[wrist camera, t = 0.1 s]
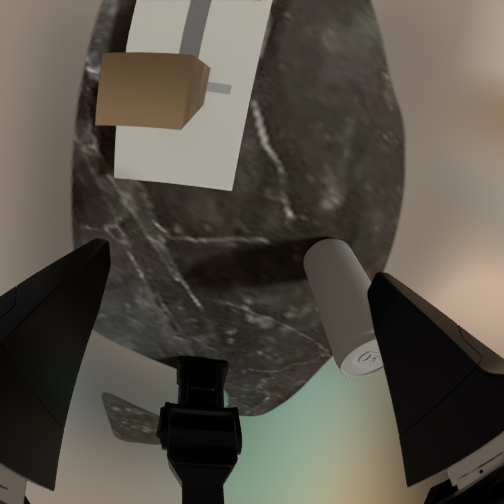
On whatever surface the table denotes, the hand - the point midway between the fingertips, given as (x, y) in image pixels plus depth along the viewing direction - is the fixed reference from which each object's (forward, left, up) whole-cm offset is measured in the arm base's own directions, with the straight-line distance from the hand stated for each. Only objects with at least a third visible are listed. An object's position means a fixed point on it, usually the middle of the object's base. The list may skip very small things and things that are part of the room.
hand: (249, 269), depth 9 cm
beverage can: (-8, -10, -15) cm, 20 cm away
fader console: (+7, +4, -15) cm, 17 cm away
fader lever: (+5, +4, -12) cm, 13 cm away
